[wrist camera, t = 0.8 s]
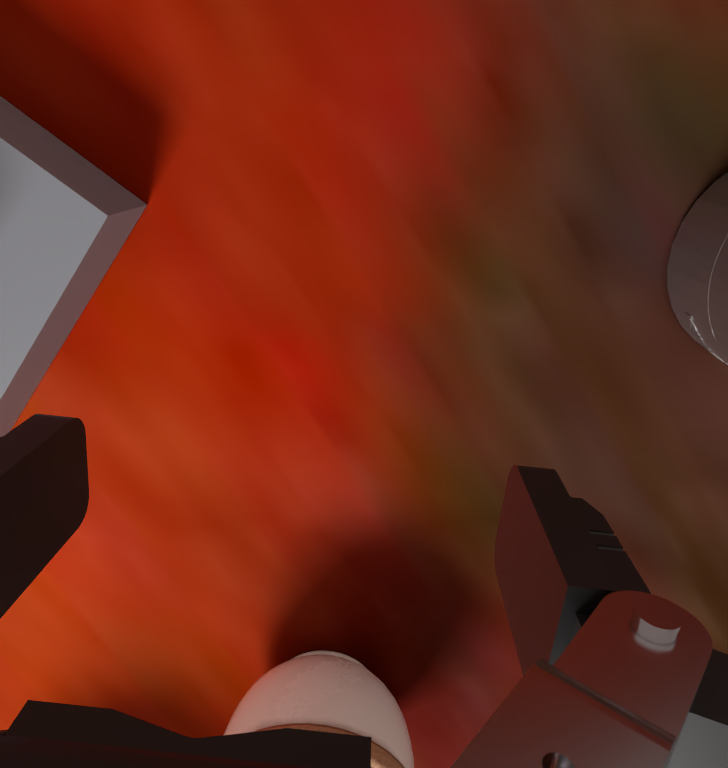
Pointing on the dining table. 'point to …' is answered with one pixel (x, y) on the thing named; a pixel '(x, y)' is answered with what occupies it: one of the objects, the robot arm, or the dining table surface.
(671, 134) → the dining table surface
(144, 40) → the dining table surface
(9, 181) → the panel
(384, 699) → the lidded jar
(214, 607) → the dining table surface
